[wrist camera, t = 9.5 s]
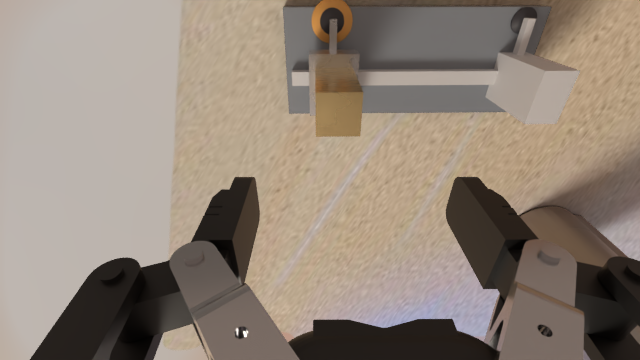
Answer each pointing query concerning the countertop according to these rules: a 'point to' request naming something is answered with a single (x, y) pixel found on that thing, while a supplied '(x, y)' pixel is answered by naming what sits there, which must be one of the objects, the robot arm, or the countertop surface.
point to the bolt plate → (434, 58)
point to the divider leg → (335, 88)
